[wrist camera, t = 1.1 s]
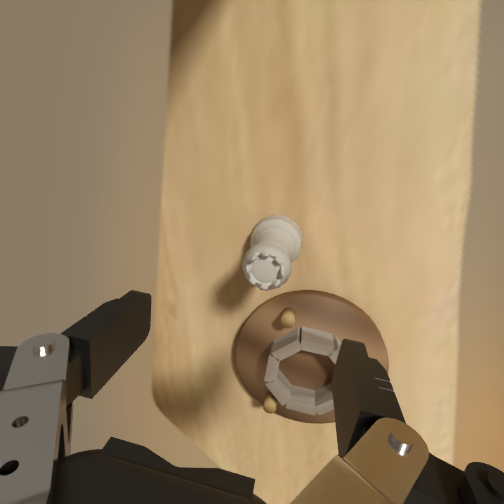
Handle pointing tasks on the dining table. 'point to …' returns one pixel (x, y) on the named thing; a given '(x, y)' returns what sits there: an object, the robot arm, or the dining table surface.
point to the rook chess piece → (272, 252)
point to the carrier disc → (301, 351)
